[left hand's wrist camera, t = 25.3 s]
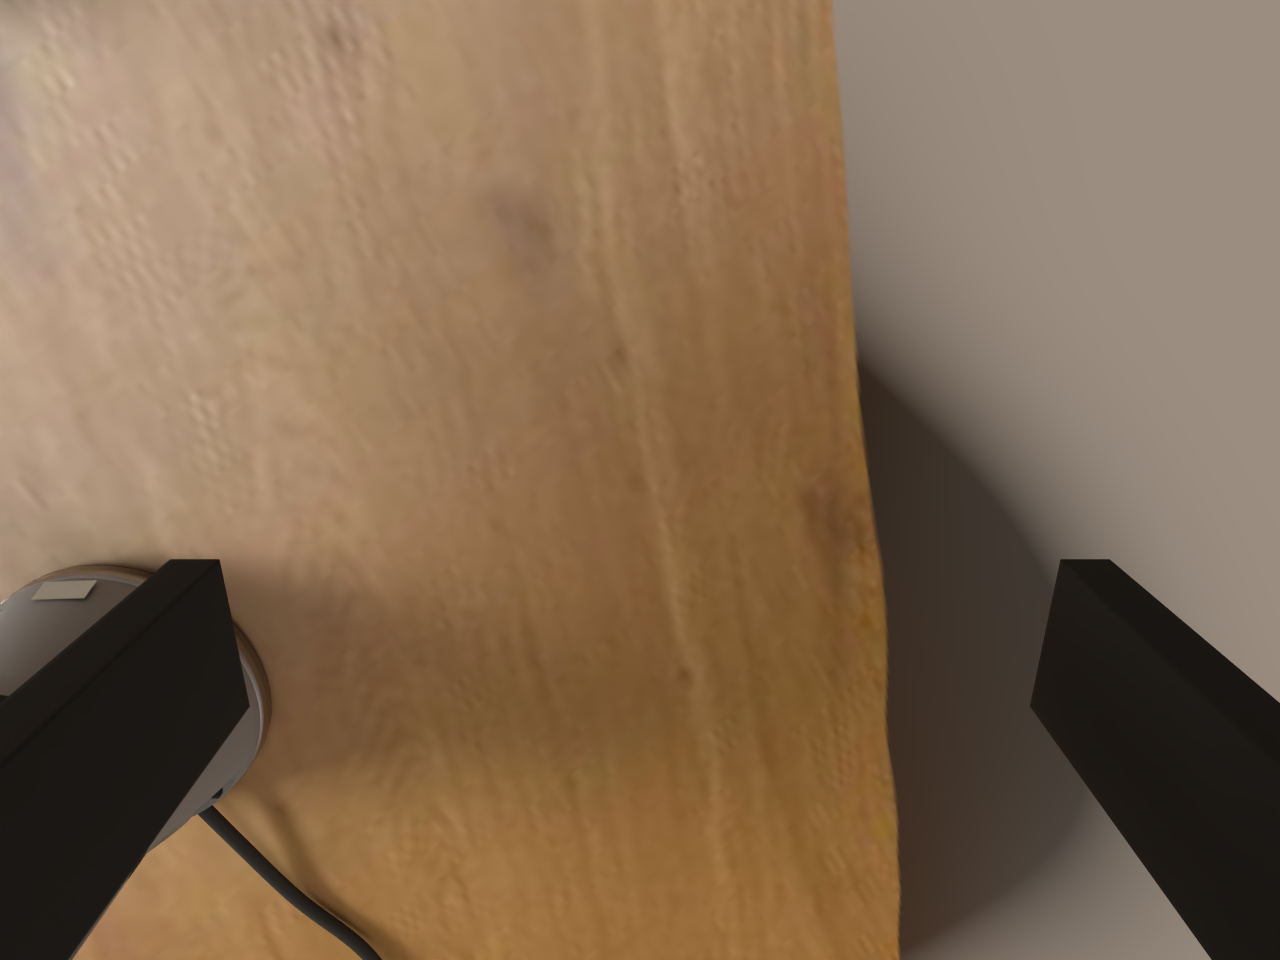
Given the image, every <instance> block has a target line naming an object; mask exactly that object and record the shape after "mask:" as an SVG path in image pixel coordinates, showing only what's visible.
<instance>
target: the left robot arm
mask: <svg viewBox="0 0 1280 960" xmlns="http://www.w3.org/2000/svg"><path fill="white" fill-rule="evenodd" d="M1030 707H1031V708H1032V710H1033V711H1034V713H1035V714H1036V715H1037V717H1038V718H1039V720H1040V721H1041V722H1042V724H1043V725H1044V727H1045V728H1046V729H1047V731H1048V732H1049V734H1050V735H1051V736H1052V738H1053V739H1054V741H1055V742H1056V743H1057V745H1058V746H1059V748H1060V749H1061V750H1062V752H1063V753H1064V754H1065V756H1066V757H1067V759H1068V760H1069V761H1070V763H1071V764H1072V766H1073V767H1074V768H1075V770H1076V771H1077V773H1078V774H1079V775H1080V777H1081V778H1082V780H1083V781H1084V782H1085V784H1086V785H1087V787H1088V788H1089V789H1090V791H1091V792H1092V794H1093V795H1094V796H1095V798H1096V799H1097V800H1098V802H1099V803H1100V805H1101V806H1102V807H1103V809H1104V810H1105V811H1106V813H1107V814H1108V816H1109V817H1110V819H1111V820H1112V821H1113V823H1114V824H1115V826H1116V827H1117V828H1118V830H1119V831H1120V833H1121V834H1122V835H1123V837H1124V838H1125V839H1126V841H1127V842H1128V844H1129V845H1130V846H1131V848H1132V849H1133V851H1134V852H1135V853H1136V855H1137V856H1138V858H1139V859H1140V860H1141V862H1142V863H1143V865H1144V866H1145V867H1146V869H1147V870H1148V872H1149V873H1150V874H1151V876H1152V877H1153V879H1154V880H1155V881H1156V883H1157V884H1158V886H1159V887H1160V888H1161V890H1162V891H1163V892H1164V894H1165V895H1166V897H1167V898H1168V899H1169V901H1170V902H1171V904H1172V905H1173V906H1174V908H1175V909H1176V911H1177V912H1178V913H1179V915H1180V916H1181V918H1182V919H1183V920H1184V922H1185V923H1186V925H1187V926H1188V927H1189V929H1190V930H1191V931H1192V933H1193V934H1194V936H1195V937H1196V938H1197V940H1198V941H1199V943H1200V944H1201V945H1202V947H1203V948H1204V950H1205V951H1206V952H1207V954H1208V955H1209V957H1210V958H1211V959H1212V960H1280V703H1279V702H1278V701H1277V700H1275V699H1274V698H1273V697H1272V696H1271V695H1270V694H1268V693H1267V692H1266V691H1265V690H1264V689H1262V688H1261V687H1260V686H1259V685H1258V684H1257V683H1255V682H1254V681H1253V680H1252V679H1251V678H1249V677H1248V676H1247V675H1246V674H1245V673H1243V672H1242V671H1241V670H1240V669H1239V668H1238V667H1236V666H1235V665H1234V664H1233V663H1232V662H1230V661H1229V660H1228V659H1227V658H1226V657H1225V656H1223V655H1222V654H1221V653H1220V652H1219V651H1217V650H1216V649H1215V648H1214V647H1213V646H1212V645H1210V644H1209V643H1208V642H1207V641H1206V640H1204V639H1203V638H1202V637H1201V636H1200V635H1199V634H1197V633H1196V632H1195V631H1194V630H1193V629H1191V628H1190V627H1189V626H1188V625H1187V624H1185V623H1184V622H1183V621H1182V620H1181V619H1179V618H1178V617H1177V616H1176V615H1175V614H1174V613H1172V612H1171V611H1170V610H1169V609H1168V608H1166V607H1165V606H1164V605H1163V604H1162V603H1161V602H1159V601H1158V600H1157V599H1156V598H1155V597H1153V596H1152V595H1151V594H1150V593H1149V592H1148V591H1146V590H1145V589H1144V588H1143V587H1142V586H1140V585H1139V584H1138V583H1137V582H1136V581H1135V580H1133V579H1132V578H1131V577H1130V576H1129V575H1127V574H1126V573H1125V572H1124V571H1123V570H1122V569H1120V568H1119V567H1118V566H1117V565H1116V564H1114V563H1113V562H1112V561H1111V560H1109V559H1061V560H1060V565H1059V569H1058V574H1057V579H1056V584H1055V589H1054V593H1053V598H1052V603H1051V608H1050V613H1049V618H1048V622H1047V627H1046V632H1045V637H1044V641H1043V646H1042V651H1041V656H1040V661H1039V665H1038V670H1037V675H1036V680H1035V685H1034V689H1033V694H1032V699H1031V704H1030ZM270 720H271V696H270V689H269V685H268V681H267V677H266V674H265V672H264V669H263V666H262V664H261V662H260V660H259V658H258V656H257V654H256V653H255V651H254V649H253V648H252V646H251V645H250V643H249V642H248V640H247V639H246V638H245V636H244V635H243V634H242V633H241V631H240V630H239V629H238V628H237V627H236V626H235V625H234V624H233V622H232V617H231V613H230V608H229V603H228V598H227V593H226V588H225V584H224V579H223V574H222V569H221V564H220V560H219V559H170V560H169V561H168V562H167V563H166V564H164V565H163V566H162V567H161V568H160V569H158V570H157V571H156V572H155V573H154V574H150V573H147V572H144V571H139V570H135V569H130V568H124V567H116V566H101V565H95V566H80V567H73V568H67V569H63V570H59V571H55V572H52V573H50V574H47V575H44V576H42V577H40V578H38V579H36V580H34V581H32V582H30V583H29V584H27V585H26V586H24V587H22V588H21V589H20V590H18V591H17V592H15V593H14V594H12V595H11V596H9V597H8V598H6V599H5V600H4V601H3V602H1V603H0V960H72V959H73V958H74V957H75V955H76V954H77V952H78V951H79V949H80V948H81V946H82V945H83V944H84V942H85V941H86V939H87V938H88V936H89V935H90V933H91V932H92V931H93V929H94V928H95V926H96V925H97V923H98V922H99V920H100V919H101V918H102V916H103V915H104V913H105V912H106V910H107V909H108V907H109V906H110V905H111V903H112V902H113V900H114V899H115V897H116V896H117V894H118V893H119V892H120V890H121V889H122V887H123V886H124V884H125V883H126V882H127V880H128V879H129V877H130V876H131V875H132V873H133V872H134V870H135V869H136V868H137V866H138V865H139V863H140V862H141V861H142V859H143V858H144V856H145V855H146V854H147V853H148V852H149V851H150V850H152V849H153V848H155V847H156V846H157V845H159V844H160V843H161V842H163V841H164V840H165V839H167V838H168V837H169V836H171V835H172V834H173V833H174V832H176V831H177V830H178V829H179V828H181V827H182V826H183V825H184V824H185V823H186V822H187V821H188V820H189V819H190V818H191V817H192V816H194V815H197V814H198V815H199V816H200V817H201V818H202V819H203V820H204V821H205V822H206V823H207V824H208V825H209V826H210V827H211V828H212V829H213V830H214V831H215V832H216V833H217V834H218V835H219V836H220V837H221V838H223V839H224V840H225V841H226V842H227V843H228V844H229V845H230V846H231V847H232V848H233V849H234V850H235V851H236V852H237V853H238V854H239V855H240V856H241V857H242V858H243V859H244V860H245V861H246V862H247V863H248V864H249V865H250V866H251V867H252V868H253V869H254V870H255V871H257V872H258V873H259V874H260V875H261V876H262V877H263V878H264V879H265V880H266V881H267V882H268V883H269V884H270V885H271V886H272V887H273V888H274V889H275V890H277V891H278V892H279V893H280V894H281V895H282V896H283V897H284V898H285V899H287V900H288V901H289V902H290V903H291V904H292V905H294V906H295V907H296V908H297V909H299V910H300V911H301V912H302V913H304V914H305V915H306V916H308V917H309V918H310V919H312V920H313V921H315V922H316V923H317V924H319V925H320V926H322V927H323V928H324V929H326V930H327V931H329V932H330V933H331V934H333V935H334V936H336V937H337V938H338V939H340V940H341V941H342V942H343V943H345V944H346V945H347V946H349V947H350V948H351V949H352V950H353V951H354V952H355V953H356V954H357V955H359V956H360V957H361V958H362V959H363V960H382V959H381V958H380V957H379V956H378V954H377V953H376V952H375V951H374V950H373V949H372V948H371V946H370V945H368V944H367V943H366V942H365V941H364V940H363V939H362V938H361V937H360V936H359V935H358V934H356V933H355V932H354V931H353V930H351V929H350V928H349V927H348V926H346V925H345V924H344V923H342V922H341V921H339V920H338V919H337V918H335V917H334V916H332V915H331V914H330V913H328V912H327V911H325V910H324V909H323V908H321V907H320V906H319V905H317V904H316V903H315V902H313V901H312V900H311V899H309V898H308V897H307V896H306V895H304V894H303V893H302V892H301V891H300V890H299V889H298V888H296V887H295V886H294V885H293V884H292V883H291V882H290V881H289V880H288V879H287V878H285V877H284V876H283V875H282V874H281V873H280V872H279V871H278V870H277V869H276V868H275V867H274V866H273V865H272V864H271V863H270V862H269V861H268V860H267V859H266V858H265V857H264V856H263V855H262V854H261V853H260V852H259V851H258V850H257V849H256V848H255V847H254V846H253V845H252V844H251V843H250V842H249V841H248V840H247V839H246V838H245V837H244V836H243V835H242V834H241V833H240V832H239V831H238V830H237V829H236V828H235V827H234V826H233V825H232V824H231V823H230V822H229V821H228V820H227V819H226V818H225V817H224V816H223V815H222V814H221V813H220V812H219V811H218V810H217V809H216V808H215V807H214V806H213V804H214V803H216V802H217V801H218V800H220V799H221V798H222V797H223V796H224V795H225V794H226V793H227V792H229V791H230V790H231V788H232V787H233V786H234V785H235V784H236V783H237V782H238V781H239V780H240V779H241V778H242V776H243V775H244V774H245V772H246V771H247V770H248V768H249V767H250V765H251V764H252V762H253V761H254V759H255V758H256V756H257V754H258V753H259V751H260V749H261V748H262V746H263V744H264V742H265V739H266V736H267V734H268V730H269V726H270Z"/></svg>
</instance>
